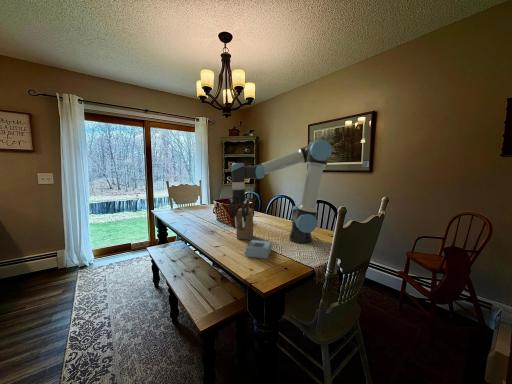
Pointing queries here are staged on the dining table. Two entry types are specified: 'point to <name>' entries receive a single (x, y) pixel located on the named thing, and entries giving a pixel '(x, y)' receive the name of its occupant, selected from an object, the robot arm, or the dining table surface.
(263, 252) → the socket block
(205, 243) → the dining table surface
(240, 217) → the walnut peg
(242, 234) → the wooden block
